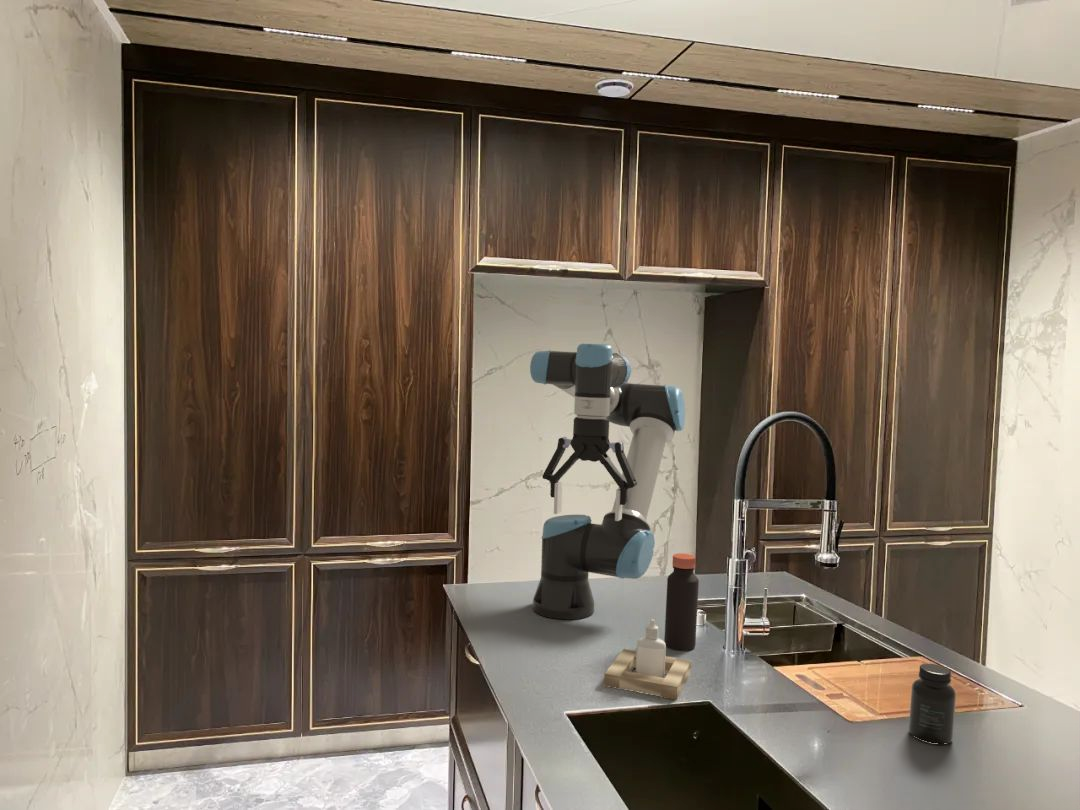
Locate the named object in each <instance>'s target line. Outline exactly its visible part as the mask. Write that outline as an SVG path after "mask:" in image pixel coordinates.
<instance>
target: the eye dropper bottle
mask: <svg viewBox="0 0 1080 810" xmlns="http://www.w3.org/2000/svg"><path fill="white" fill-rule="evenodd" d="M636 651H637V653H636V669H635V673H639V674H645V675H650V676H656V677H661V678H665V677H666V674H665V656H666V653H667V652H666V651H667V646H666V643H665V642H664V639H662V638H659V626H657V625H656V621H655V619H653V618H652V619H650V622H649V624H648V625H646V626H645V636H643V637H640V638H639V639H638V640H637V643H636Z"/></svg>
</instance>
